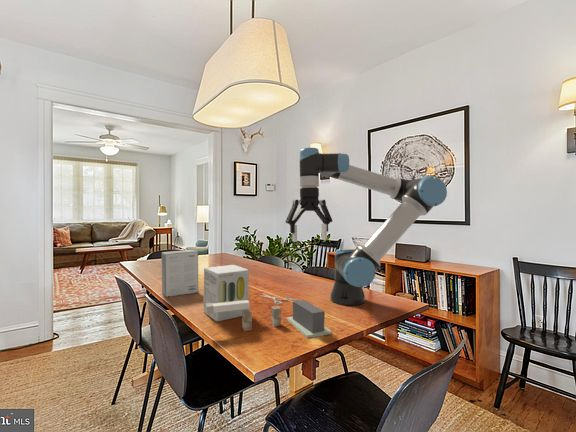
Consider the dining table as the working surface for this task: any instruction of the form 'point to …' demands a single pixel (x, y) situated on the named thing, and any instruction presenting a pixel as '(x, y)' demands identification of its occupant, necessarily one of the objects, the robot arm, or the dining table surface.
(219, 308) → the strap
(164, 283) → the hard drive box
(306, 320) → the dark gray rectangular block
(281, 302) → the scissors
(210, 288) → the supplement box
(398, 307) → the dining table surface
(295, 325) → the mat
